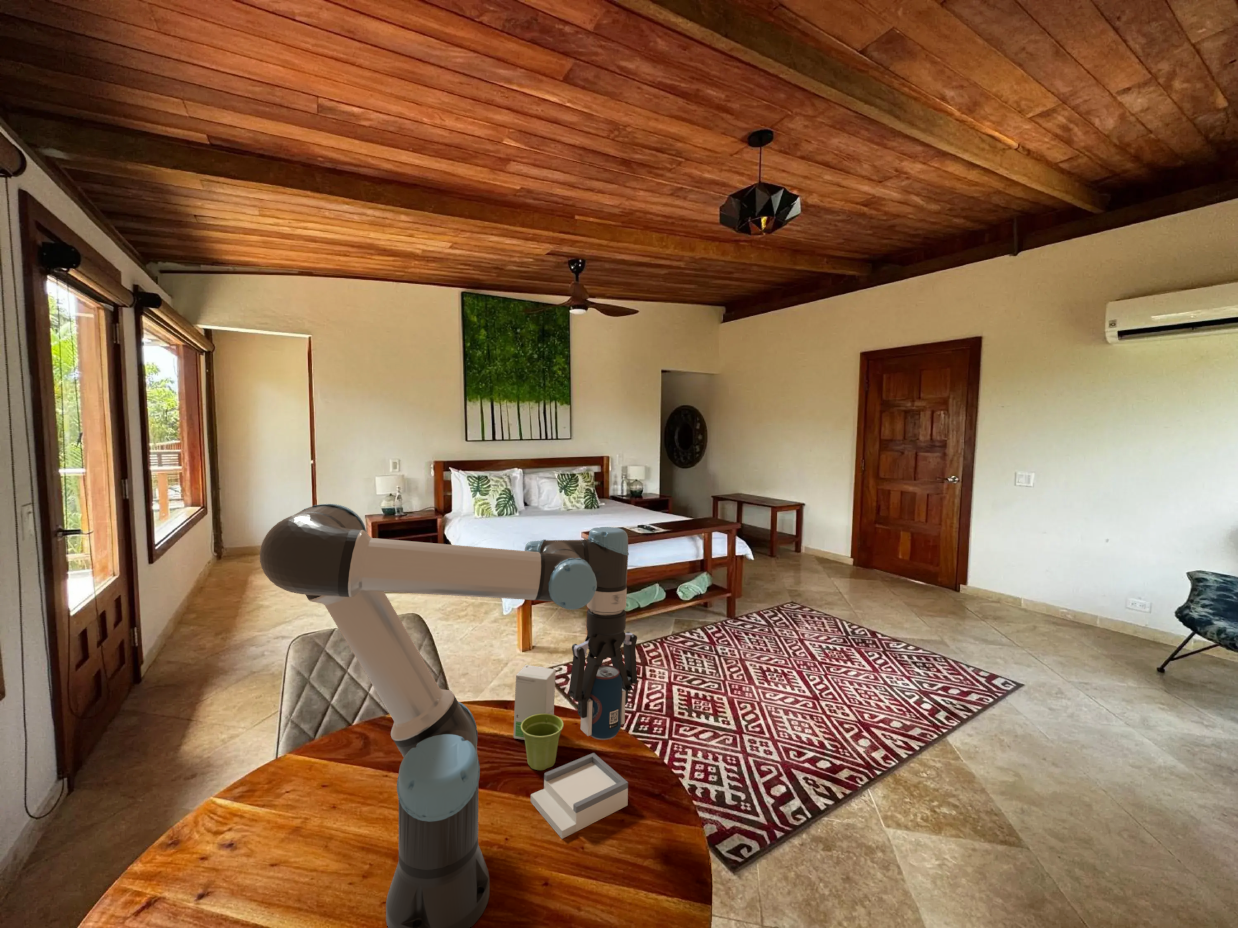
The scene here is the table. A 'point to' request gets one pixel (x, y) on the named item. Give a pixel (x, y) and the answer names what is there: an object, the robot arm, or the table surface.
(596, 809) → the dock
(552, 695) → the skincare box
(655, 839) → the table surface
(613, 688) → the soda can
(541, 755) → the plant pot
